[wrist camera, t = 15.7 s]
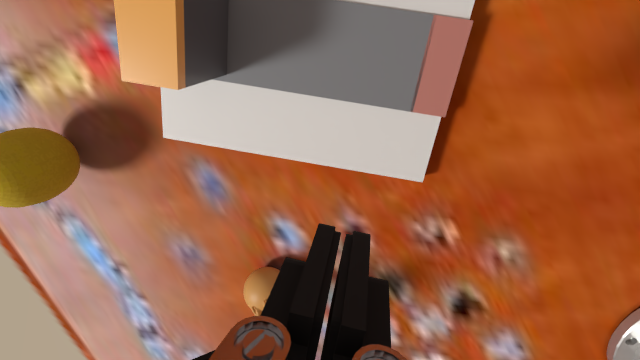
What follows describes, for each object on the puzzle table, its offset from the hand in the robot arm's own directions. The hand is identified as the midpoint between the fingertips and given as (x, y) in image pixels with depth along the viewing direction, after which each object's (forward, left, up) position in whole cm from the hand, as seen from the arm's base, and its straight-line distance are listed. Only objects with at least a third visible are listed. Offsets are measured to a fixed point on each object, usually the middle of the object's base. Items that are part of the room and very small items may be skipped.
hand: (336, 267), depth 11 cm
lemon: (+23, +5, -16) cm, 29 cm away
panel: (+4, -6, -16) cm, 18 cm away
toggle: (+11, -6, -15) cm, 19 cm away
